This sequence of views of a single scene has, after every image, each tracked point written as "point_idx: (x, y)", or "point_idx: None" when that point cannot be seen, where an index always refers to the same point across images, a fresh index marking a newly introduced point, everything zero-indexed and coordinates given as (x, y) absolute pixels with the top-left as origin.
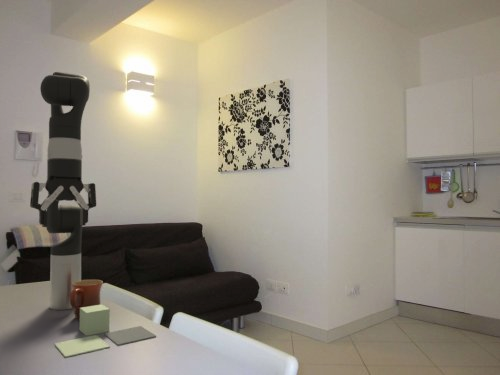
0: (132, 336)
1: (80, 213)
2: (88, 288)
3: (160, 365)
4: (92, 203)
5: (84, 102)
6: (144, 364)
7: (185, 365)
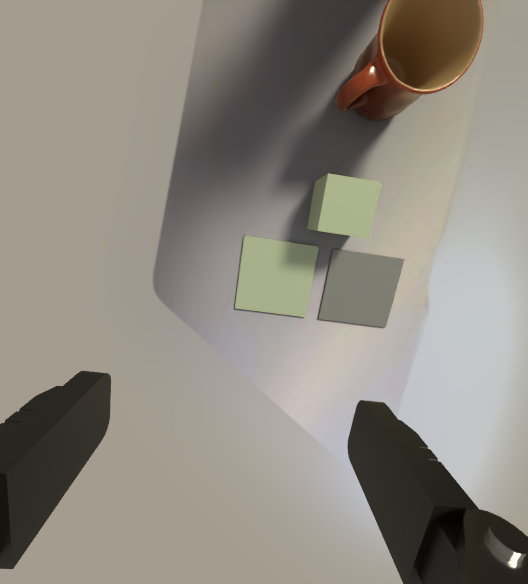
0: (356, 302)
1: (409, 478)
2: (401, 91)
3: (316, 419)
4: None
5: None
6: (303, 404)
7: (337, 438)
